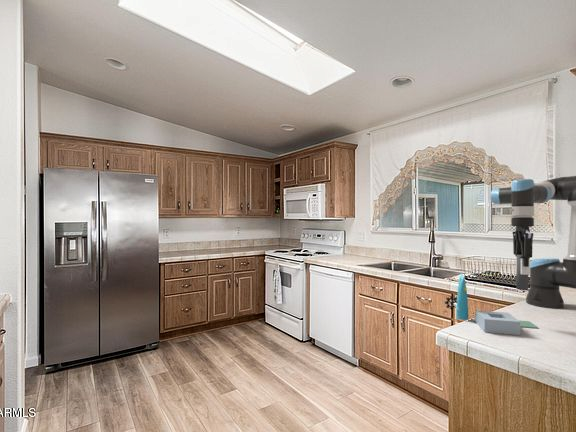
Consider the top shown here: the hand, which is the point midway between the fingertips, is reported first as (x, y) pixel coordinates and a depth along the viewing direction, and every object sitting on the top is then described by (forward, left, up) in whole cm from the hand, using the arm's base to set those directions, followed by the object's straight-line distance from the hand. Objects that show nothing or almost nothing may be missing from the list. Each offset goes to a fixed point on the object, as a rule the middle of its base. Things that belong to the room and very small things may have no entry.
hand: (522, 273), depth 134 cm
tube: (+22, -2, -21) cm, 31 cm away
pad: (0, 0, -21) cm, 21 cm away
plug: (0, 0, -7) cm, 7 cm away
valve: (+22, -11, -22) cm, 32 cm away
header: (+12, +8, -21) cm, 26 cm away
